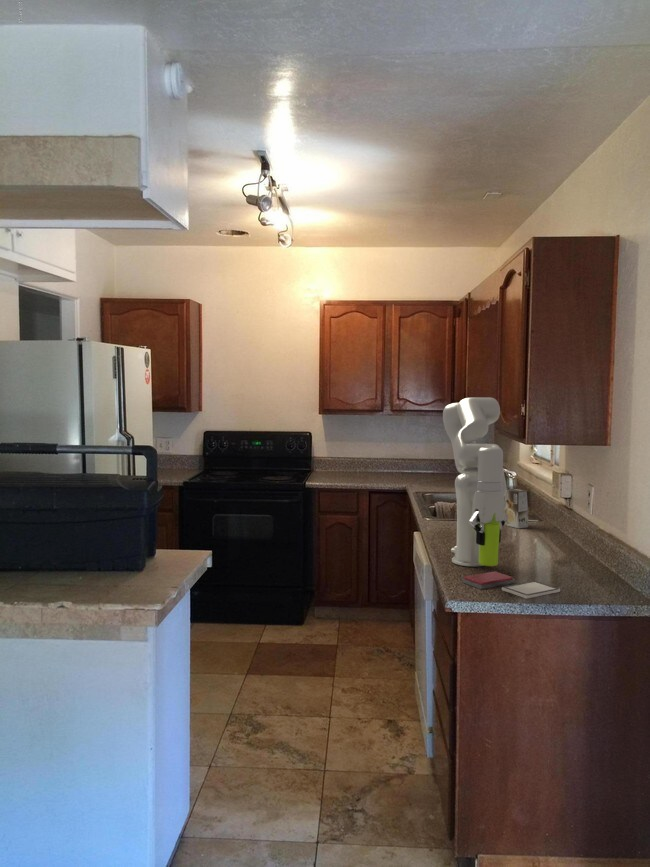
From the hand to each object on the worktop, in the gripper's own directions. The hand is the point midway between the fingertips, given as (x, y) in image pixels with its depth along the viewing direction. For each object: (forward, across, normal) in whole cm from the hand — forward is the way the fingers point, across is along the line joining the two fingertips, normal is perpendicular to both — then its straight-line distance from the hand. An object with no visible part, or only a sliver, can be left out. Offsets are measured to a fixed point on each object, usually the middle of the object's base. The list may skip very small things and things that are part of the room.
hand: (488, 542), depth 221 cm
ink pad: (+13, 0, +1) cm, 13 cm away
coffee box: (+15, -72, -60) cm, 95 cm away
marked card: (+12, -4, +14) cm, 19 cm away
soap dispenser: (+7, 0, 0) cm, 7 cm away
